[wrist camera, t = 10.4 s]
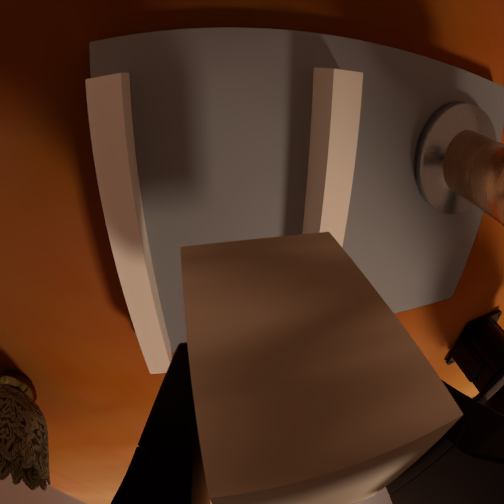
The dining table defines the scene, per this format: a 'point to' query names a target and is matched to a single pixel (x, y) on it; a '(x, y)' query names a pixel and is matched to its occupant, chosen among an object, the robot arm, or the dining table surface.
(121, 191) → the board
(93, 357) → the dining table surface
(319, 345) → the block
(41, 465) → the cup
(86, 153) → the dining table surface
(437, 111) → the bobbin
